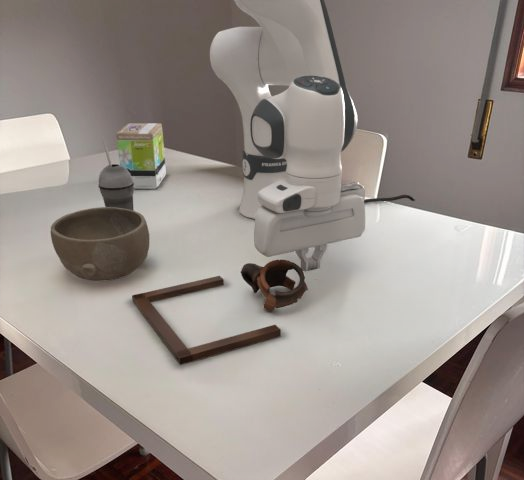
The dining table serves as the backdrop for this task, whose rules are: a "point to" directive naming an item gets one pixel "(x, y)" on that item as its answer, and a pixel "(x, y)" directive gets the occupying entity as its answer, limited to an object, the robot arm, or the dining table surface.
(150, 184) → the tea box
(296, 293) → the broken brown mug
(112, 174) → the beverage cup
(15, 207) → the dining table surface
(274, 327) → the frame
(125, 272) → the bowl
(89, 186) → the dining table surface
